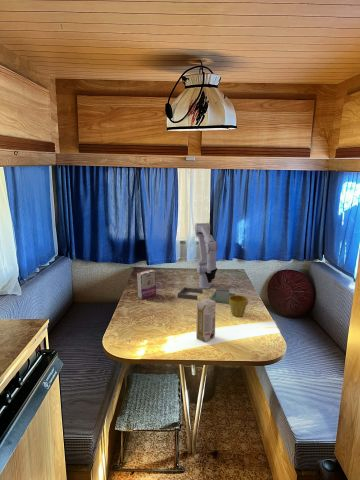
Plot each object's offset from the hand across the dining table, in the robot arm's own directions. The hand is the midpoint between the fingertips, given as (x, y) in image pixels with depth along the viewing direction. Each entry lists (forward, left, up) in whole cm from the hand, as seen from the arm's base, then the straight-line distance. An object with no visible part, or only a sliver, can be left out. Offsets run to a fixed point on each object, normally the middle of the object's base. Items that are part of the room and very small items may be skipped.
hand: (211, 280), depth 234 cm
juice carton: (+59, +12, -10) cm, 61 cm away
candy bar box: (+16, -38, -10) cm, 42 cm away
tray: (+5, +9, -9) cm, 14 cm away
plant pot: (+26, +22, -10) cm, 35 cm away
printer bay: (+5, -12, -9) cm, 16 cm away
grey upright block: (+5, +9, -9) cm, 13 cm away
